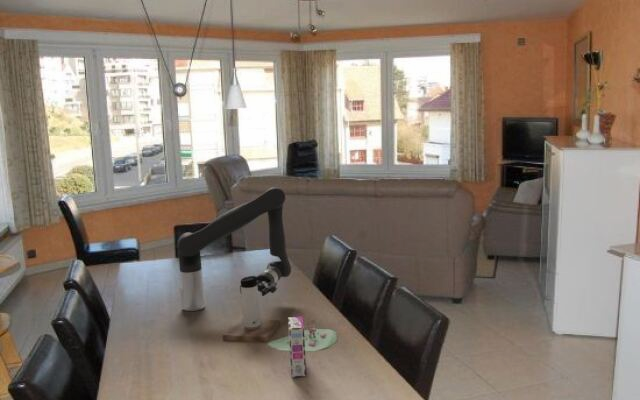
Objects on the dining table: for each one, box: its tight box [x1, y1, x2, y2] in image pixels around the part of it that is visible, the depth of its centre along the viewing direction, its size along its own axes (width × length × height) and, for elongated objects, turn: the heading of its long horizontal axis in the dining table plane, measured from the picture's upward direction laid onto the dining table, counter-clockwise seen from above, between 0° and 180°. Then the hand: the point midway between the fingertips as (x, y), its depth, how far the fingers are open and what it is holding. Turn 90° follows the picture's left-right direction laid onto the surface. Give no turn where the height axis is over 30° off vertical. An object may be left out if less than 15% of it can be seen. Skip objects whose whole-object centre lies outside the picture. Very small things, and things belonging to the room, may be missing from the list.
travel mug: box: [240, 275, 261, 330], centre depth 225 cm, size 6×7×20 cm
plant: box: [267, 317, 338, 352], centre depth 215 cm, size 25×21×9 cm
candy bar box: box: [287, 315, 307, 379], centre depth 191 cm, size 11×5×16 cm, turn 5°
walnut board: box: [222, 318, 281, 343], centre depth 226 cm, size 17×17×2 cm
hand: (252, 293), depth 228 cm, fingers open, 8 cm apart
